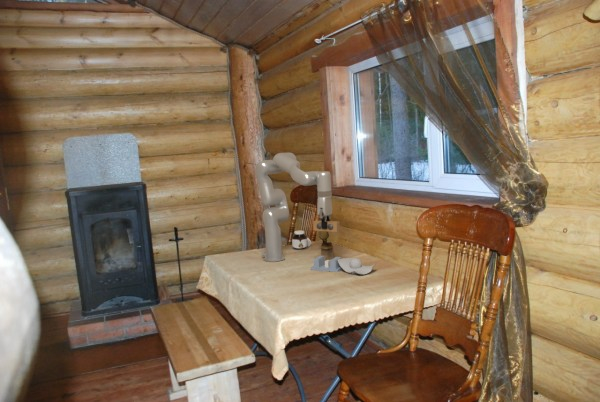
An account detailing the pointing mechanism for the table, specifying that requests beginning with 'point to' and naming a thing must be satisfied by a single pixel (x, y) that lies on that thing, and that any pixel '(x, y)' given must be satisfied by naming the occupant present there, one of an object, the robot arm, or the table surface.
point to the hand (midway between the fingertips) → (326, 227)
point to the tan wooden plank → (331, 226)
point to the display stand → (326, 264)
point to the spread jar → (300, 240)
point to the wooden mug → (326, 246)
